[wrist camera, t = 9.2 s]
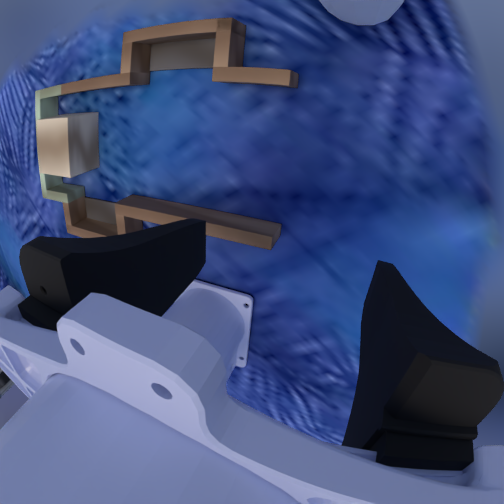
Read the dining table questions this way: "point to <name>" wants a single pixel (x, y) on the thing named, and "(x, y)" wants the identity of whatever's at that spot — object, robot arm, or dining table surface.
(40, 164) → the oak block
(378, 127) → the dining table surface
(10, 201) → the dining table surface
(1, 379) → the milk frother
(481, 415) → the robot arm
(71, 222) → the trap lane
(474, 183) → the dining table surface
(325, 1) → the white tapered cup
